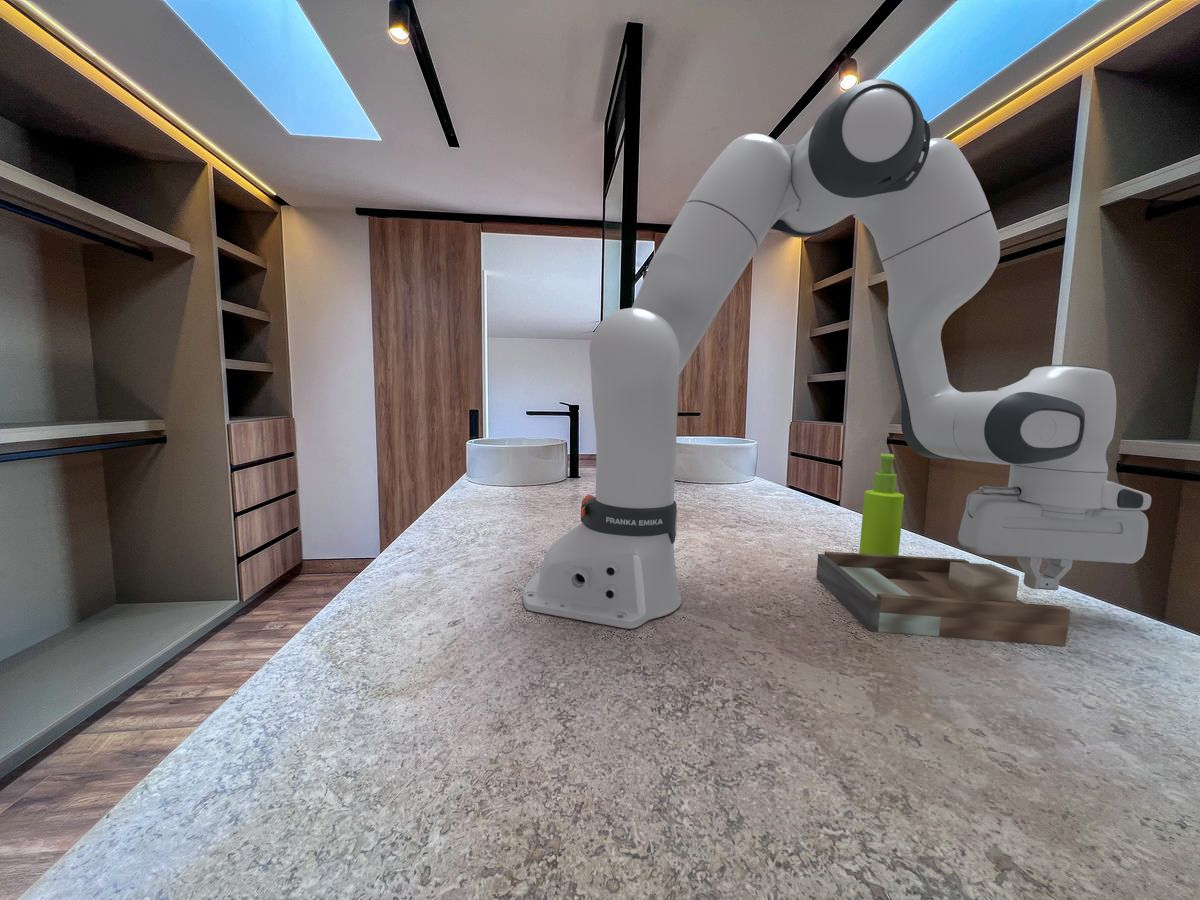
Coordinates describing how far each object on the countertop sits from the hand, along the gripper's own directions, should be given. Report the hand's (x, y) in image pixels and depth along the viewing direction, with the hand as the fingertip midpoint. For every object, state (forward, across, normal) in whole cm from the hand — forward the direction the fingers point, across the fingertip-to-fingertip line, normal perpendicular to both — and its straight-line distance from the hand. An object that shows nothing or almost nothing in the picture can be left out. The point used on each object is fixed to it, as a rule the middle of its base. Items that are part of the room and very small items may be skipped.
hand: (1040, 588), depth 58 cm
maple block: (+1, -7, 0) cm, 8 cm away
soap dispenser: (+4, -12, +18) cm, 22 cm away
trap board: (+4, -15, 0) cm, 15 cm away
